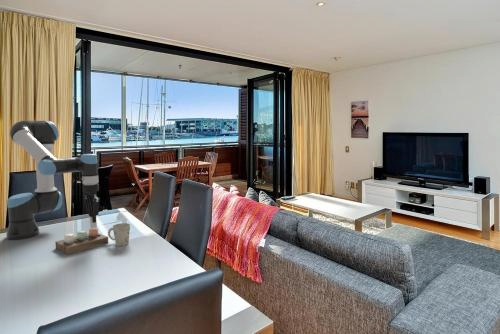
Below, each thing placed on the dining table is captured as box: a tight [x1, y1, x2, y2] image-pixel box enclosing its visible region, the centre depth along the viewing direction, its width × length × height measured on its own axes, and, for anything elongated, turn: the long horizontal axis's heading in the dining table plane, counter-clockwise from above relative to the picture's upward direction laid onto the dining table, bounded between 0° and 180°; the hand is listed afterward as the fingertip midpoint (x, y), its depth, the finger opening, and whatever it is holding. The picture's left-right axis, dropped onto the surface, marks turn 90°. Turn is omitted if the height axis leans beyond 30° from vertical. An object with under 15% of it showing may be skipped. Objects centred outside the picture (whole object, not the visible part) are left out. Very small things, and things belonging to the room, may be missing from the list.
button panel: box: [55, 232, 109, 256], centre depth 165 cm, size 14×20×4 cm
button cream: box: [63, 233, 76, 244], centre depth 159 cm, size 4×4×4 cm
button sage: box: [76, 230, 88, 241], centre depth 164 cm, size 4×4×4 cm
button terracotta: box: [88, 227, 99, 238], centre depth 169 cm, size 4×4×4 cm
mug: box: [107, 222, 131, 247], centre depth 167 cm, size 8×13×10 cm, turn 78°
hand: (93, 228), depth 168 cm, fingers closed
